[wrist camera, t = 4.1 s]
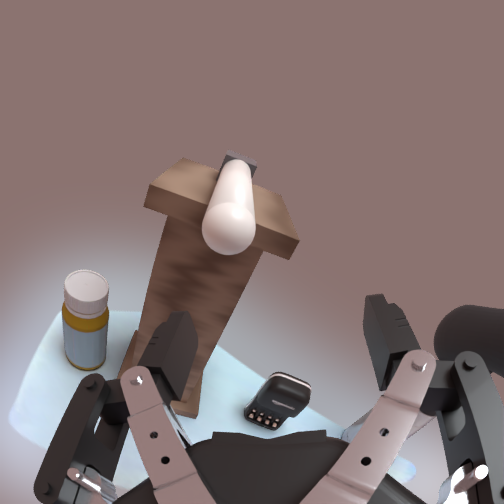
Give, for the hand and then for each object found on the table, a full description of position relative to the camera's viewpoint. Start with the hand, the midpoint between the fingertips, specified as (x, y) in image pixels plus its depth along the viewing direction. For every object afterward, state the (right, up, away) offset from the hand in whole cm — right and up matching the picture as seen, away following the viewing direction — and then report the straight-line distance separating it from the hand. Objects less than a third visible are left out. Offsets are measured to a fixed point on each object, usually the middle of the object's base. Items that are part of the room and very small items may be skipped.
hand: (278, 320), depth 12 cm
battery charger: (0, -25, +29) cm, 38 cm away
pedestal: (-16, -17, +29) cm, 37 cm away
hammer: (-3, +7, +12) cm, 14 cm away
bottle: (-28, -14, +25) cm, 40 cm away
